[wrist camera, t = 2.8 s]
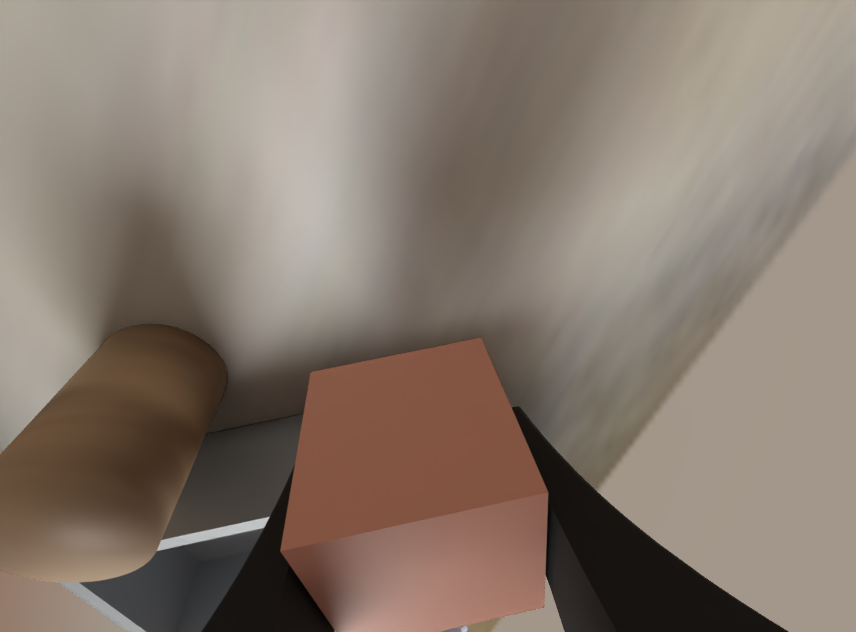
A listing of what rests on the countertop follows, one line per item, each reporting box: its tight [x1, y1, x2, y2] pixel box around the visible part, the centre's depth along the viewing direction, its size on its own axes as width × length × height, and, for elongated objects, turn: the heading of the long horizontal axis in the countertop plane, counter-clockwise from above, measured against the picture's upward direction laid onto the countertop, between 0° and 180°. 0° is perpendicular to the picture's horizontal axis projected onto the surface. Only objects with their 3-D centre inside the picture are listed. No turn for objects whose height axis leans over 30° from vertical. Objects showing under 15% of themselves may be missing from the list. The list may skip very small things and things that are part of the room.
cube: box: [280, 338, 548, 632], centre depth 11 cm, size 5×5×5 cm
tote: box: [58, 414, 303, 632], centre depth 19 cm, size 9×18×5 cm, turn 98°
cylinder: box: [0, 324, 227, 583], centre depth 14 cm, size 5×5×7 cm
